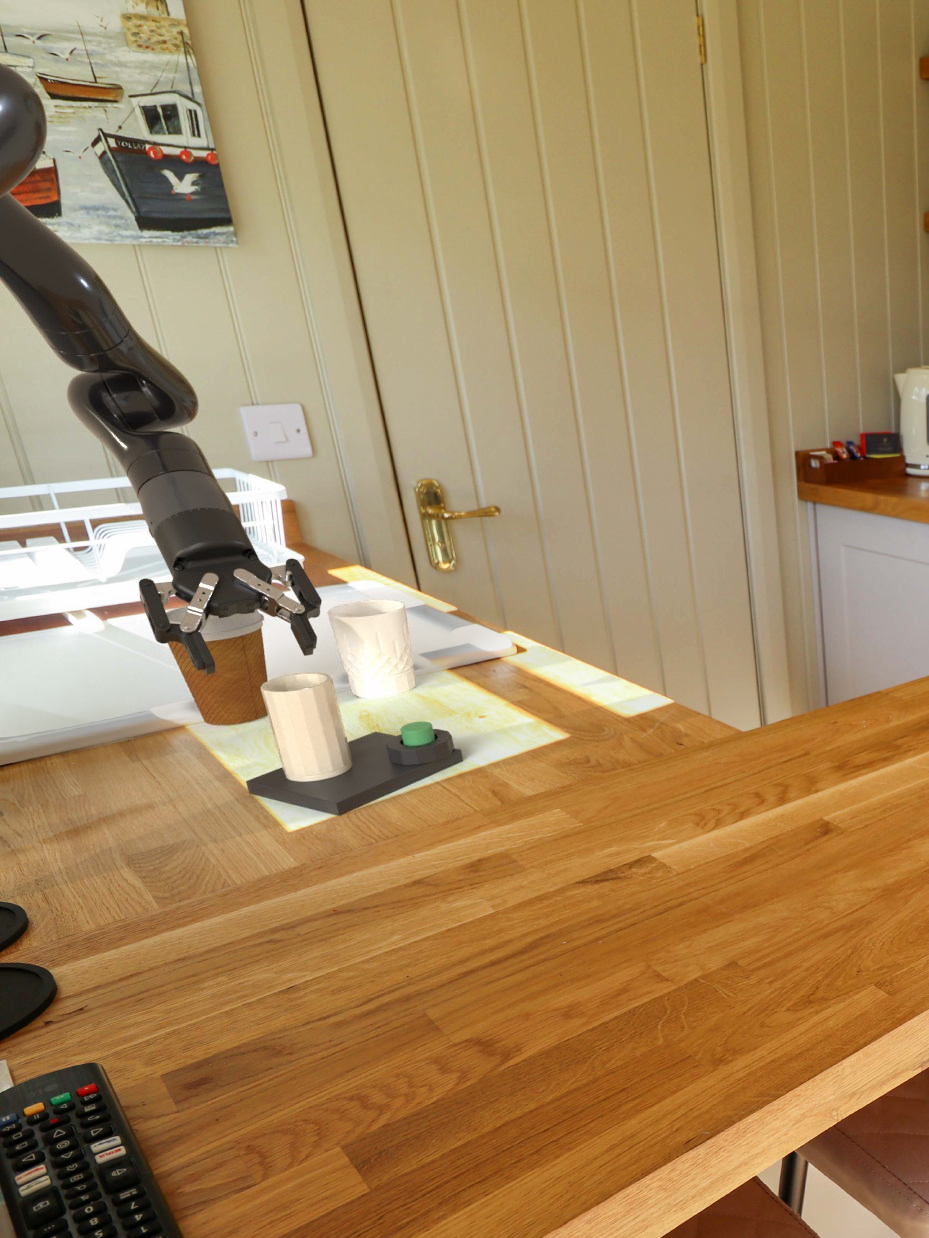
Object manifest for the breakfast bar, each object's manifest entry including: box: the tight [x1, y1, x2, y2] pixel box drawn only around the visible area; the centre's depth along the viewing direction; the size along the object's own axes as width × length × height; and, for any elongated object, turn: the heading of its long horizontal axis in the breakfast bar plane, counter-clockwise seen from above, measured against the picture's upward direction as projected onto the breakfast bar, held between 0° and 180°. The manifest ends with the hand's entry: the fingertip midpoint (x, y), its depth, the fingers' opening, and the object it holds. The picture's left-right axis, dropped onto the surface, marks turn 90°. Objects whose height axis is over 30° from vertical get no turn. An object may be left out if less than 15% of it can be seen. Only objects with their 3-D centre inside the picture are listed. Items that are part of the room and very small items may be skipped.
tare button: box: [400, 721, 435, 746], centre depth 109 cm, size 3×3×2 cm
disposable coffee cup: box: [165, 605, 269, 726], centre depth 120 cm, size 10×10×12 cm
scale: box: [245, 728, 464, 817], centre depth 107 cm, size 14×12×3 cm
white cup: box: [327, 599, 417, 699], centre depth 129 cm, size 8×8×10 cm
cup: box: [261, 672, 353, 782], centre depth 104 cm, size 6×6×9 cm
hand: (262, 660), depth 108 cm, fingers open, 8 cm apart
